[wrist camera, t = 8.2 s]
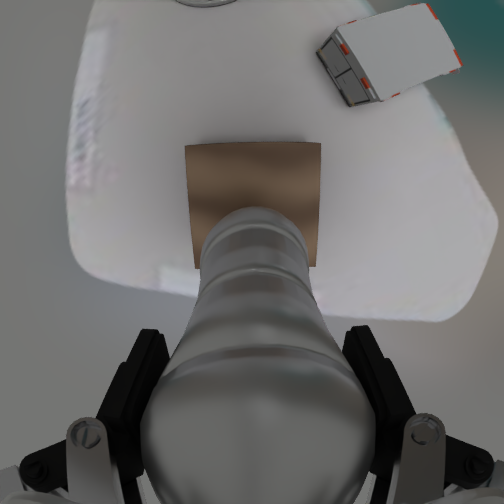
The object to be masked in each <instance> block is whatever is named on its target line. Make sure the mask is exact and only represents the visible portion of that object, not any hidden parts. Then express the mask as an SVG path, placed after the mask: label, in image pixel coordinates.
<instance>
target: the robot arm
mask: <svg viewBox="0 0 504 504" xmlns="http://www.w3.org/2000/svg"><path fill="white" fill-rule="evenodd" d="M176 1H177V2H180V3H183V4H185V5H190V6H197V7H209V6H217V5H223V4H226V3H229V2H232V1H235V0H212V1H210V0H176ZM342 353H343V355H344V356H345V358H346V360H347V361H348V363H349V365H350V366H351V368H352V370H353V371H354V373H355V375H356V377H357V378H358V379H359V381H360V383H361V385H362V387H363V389H364V391H365V393H366V395H367V397H368V400H369V402H370V404H371V406H372V408H373V410H374V413H375V420H376V437H375V456H374V458H373V461H372V464H371V466H370V469H369V471H370V472H371V473H373V477H372V482H371V486H370V490H369V494H368V497H367V501H366V504H504V462H503V461H500V460H497V461H496V462H494V461H493V458H492V456H491V455H490V454H489V452H487V451H486V450H484V449H481V448H479V447H476V446H473V445H471V444H468V443H465V442H463V441H460V440H458V439H455V438H453V437H450V436H448V435H446V432H445V427H444V424H443V423H442V421H441V420H440V419H439V418H438V417H436V416H434V415H432V414H428V413H420V414H416V412H415V410H414V408H413V406H412V403H411V401H410V399H409V397H408V395H407V393H406V390H405V388H404V386H403V384H402V382H401V380H400V378H399V376H398V374H397V371H396V369H395V367H394V365H393V364H392V362H391V360H390V359H389V358H384V356H383V354H382V352H381V350H380V348H379V346H378V344H377V342H376V340H375V338H374V336H373V334H372V332H371V330H370V328H369V327H368V325H363V326H353V327H352V328H351V331H347V332H346V335H345V340H344V345H343V349H342ZM169 360H170V357H169V353H168V349H167V346H166V342H165V338H164V335H163V334H160V333H159V331H158V330H156V329H142V330H141V331H140V333H139V336H138V338H137V339H136V342H135V344H134V346H133V348H132V350H131V352H130V354H129V356H128V358H127V361H126V362H122V363H121V364H120V366H119V367H118V370H117V372H116V374H115V376H114V378H113V380H112V382H111V385H110V387H109V389H108V391H107V393H106V395H105V398H104V400H103V402H102V404H101V407H100V409H99V411H98V414H97V416H96V418H92V417H84V418H80V419H78V420H76V421H74V422H73V423H72V424H71V425H70V427H69V428H68V430H67V434H66V439H65V440H63V441H61V442H58V443H56V444H54V445H51V446H49V447H47V448H44V449H41V450H39V451H37V452H34V453H32V454H29V455H28V456H26V457H25V458H24V459H23V460H22V461H21V464H20V467H18V466H16V465H14V466H11V467H8V468H6V469H3V470H0V504H147V503H146V499H145V495H144V492H143V488H142V484H141V480H140V476H141V475H143V472H144V465H143V462H142V455H141V439H140V422H141V419H142V416H143V413H144V411H145V408H146V406H147V404H148V402H149V399H150V396H151V394H152V391H153V389H154V388H155V386H156V385H157V383H158V380H159V378H160V377H161V375H162V373H163V371H164V369H165V367H166V366H167V364H168V362H169Z"/></svg>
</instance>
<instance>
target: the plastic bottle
mask: <svg viewBox="0 0 504 504" xmlns="http://www.w3.org/2000/svg"><path fill="white" fill-rule="evenodd" d="M200 279H201V280H200V286H199V293H198V299H197V302H196V305H195V307H194V310H193V312H192V315H191V317H190V320H189V322H188V325H187V327H186V330H185V333H184V335H183V337H182V338H181V340H180V342H179V344H178V346H177V347H176V349H175V351H174V353H173V355H172V356H171V358H170V360H169V362H168V364H167V366H166V367H165V369H164V371H163V373H162V375H161V377H160V378H159V380H158V383H157V385H156V386H155V388H154V389H153V391H152V394H151V396H150V399H149V402H148V404H147V406H146V408H145V411H144V413H143V416H142V419H141V422H140V439H141V455H142V462H143V465H144V468H145V470H146V473H147V475H148V477H149V480H150V482H151V485H152V487H153V489H154V491H155V494H156V496H157V498H158V499H159V501H160V503H161V504H353V503H354V501H355V500H356V498H357V496H358V494H359V493H360V491H361V488H362V486H363V484H364V481H365V479H366V477H367V474H368V472H369V469H370V466H371V464H372V461H373V458H374V456H375V437H376V420H375V413H374V410H373V408H372V406H371V404H370V402H369V400H368V397H367V395H366V393H365V391H364V389H363V387H362V385H361V383H360V381H359V379H358V378H357V377H356V375H355V373H354V371H353V370H352V368H351V366H350V365H349V363H348V361H347V360H346V358H345V356H344V355H343V353H342V352H341V350H340V348H339V347H338V345H337V343H336V342H335V340H334V339H333V337H332V335H331V334H330V332H329V330H328V328H327V326H326V323H325V321H324V319H323V317H322V314H321V312H320V310H319V308H318V306H317V303H316V301H315V299H314V296H313V293H312V288H311V283H310V278H309V258H308V250H307V246H306V243H305V239H304V237H303V236H302V234H301V232H300V230H299V229H298V228H297V227H296V226H295V224H294V223H293V222H292V221H290V220H289V219H288V218H286V217H285V216H284V215H282V214H281V213H279V212H277V211H275V210H272V209H269V208H265V207H254V206H252V207H246V208H241V209H239V210H236V211H233V212H232V213H230V214H228V215H227V216H225V217H224V218H223V219H221V220H220V221H219V222H218V223H217V224H216V225H215V226H214V227H213V228H212V229H211V231H210V232H209V234H208V235H207V237H206V239H205V242H204V244H203V247H202V252H201V258H200Z"/></svg>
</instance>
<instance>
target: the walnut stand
mask: <svg viewBox="0 0 504 504" xmlns="http://www.w3.org/2000/svg"><path fill="white" fill-rule="evenodd" d="M185 159H186V174H187V188H188V201H189V213H190V224H191V234H192V244H193V254H194V263H195V269H200V258H201V252H202V247H203V244H204V242H205V239H206V237H207V235H208V234H209V232H210V231H211V229H212V228H213V227H214V226H215V225H216V224H217V223H218V222H219V221H220V220H221V219H223V218H224V217H225V216H227V215H228V214H230V213H232V212H233V211H236V210H239V209H241V208H246V207H252V206H254V207H265V208H269V209H272V210H275V211H277V212H279V213H281V214H282V215H284V216H285V217H286V218H288V219H289V220H290V221H292V222H293V223H294V224H295V226H296V227H297V228H298V229H299V230H300V232H301V234H302V236H303V237H304V239H305V243H306V246H307V250H308V258H309V267H316V255H317V240H318V223H319V201H320V170H321V143H313V142H237V143H215V144H199V145H187V146H185Z"/></svg>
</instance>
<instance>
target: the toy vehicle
mask: <svg viewBox="0 0 504 504" xmlns="http://www.w3.org/2000/svg"><path fill="white" fill-rule="evenodd" d="M316 53H317V55H318V56H319V58H320V59H321V61H322V62H323V64H324V65H325V67H326V69H327V70H328V72H329V73H330V75H331V77H332V78H333V80H334V81H335V83H336V85H337V86H338V88H339V90H340V92H341V93H342V95H343V97H344V98H345V100H346V102H347V104H348V106H349V107H352V106H358V105H362V104H367V103H372V102H377V101H380V102H382V101H385V100H387V99H390V98H392V97H394V96H396V95H398V94H400V92H401V91H404V90H406V89H408V88H410V87H413V86H415V85H417V84H420V83H422V82H424V81H427V80H429V79H432V78H434V77H436V76H441V75H445V74H448V73H450V72H451V73H452V74H457V73H460V71H459V67H461V66H462V65H463V64H462V62H461V60H460V58H459V56H458V54H457V52H456V50H455V48H454V46H453V44H452V42H451V41H450V39H449V37H448V35H447V33H446V32H445V30H444V28H443V26H442V25H441V23H440V21H439V20H438V18H437V17H436V15H435V13H434V12H433V10H432V9H431V7H430V6H429V4H425V3H422V4H421V3H420V2H419V3H418V4H413V5H408V6H404V7H402V8H400V9H396V10H392V11H388V12H385V13H381V14H378V15H374V16H371V17H368V18H364V19H361V20H358V21H357V20H355V21H352V22H349V23H346V24H343V25H340V26H338V27H337V28H336V29H335V30H334V32H333V33H332V34H331V35H330V36H329V37H328V39H327V40H326V41H325V42H324V43H323V45H322V46H321V47H320V48H319V49H318V51H317V52H316Z"/></svg>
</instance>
